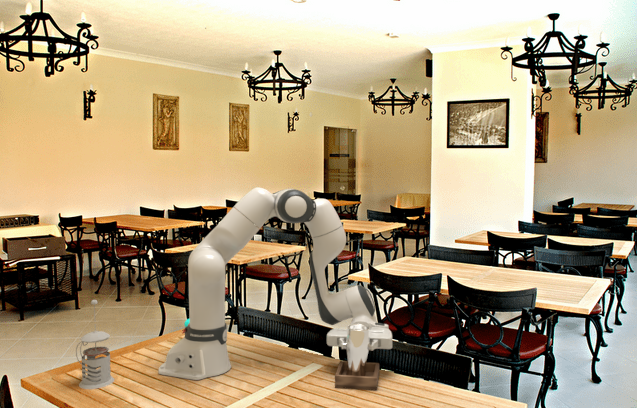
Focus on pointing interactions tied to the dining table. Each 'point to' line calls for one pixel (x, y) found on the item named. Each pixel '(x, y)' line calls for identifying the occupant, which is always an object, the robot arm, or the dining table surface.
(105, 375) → the french press
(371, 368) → the walnut tray
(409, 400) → the dining table surface
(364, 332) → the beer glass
